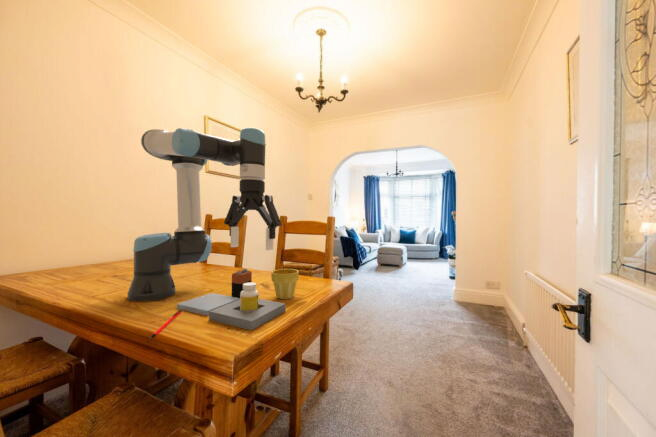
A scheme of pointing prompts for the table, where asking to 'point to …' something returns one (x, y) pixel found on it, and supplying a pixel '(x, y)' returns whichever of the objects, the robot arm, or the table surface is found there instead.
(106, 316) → the table surface
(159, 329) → the pen
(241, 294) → the supplement bottle
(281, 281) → the plant pot
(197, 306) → the blue-grey tile
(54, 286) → the table surface
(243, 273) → the battery
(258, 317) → the pocket holder
